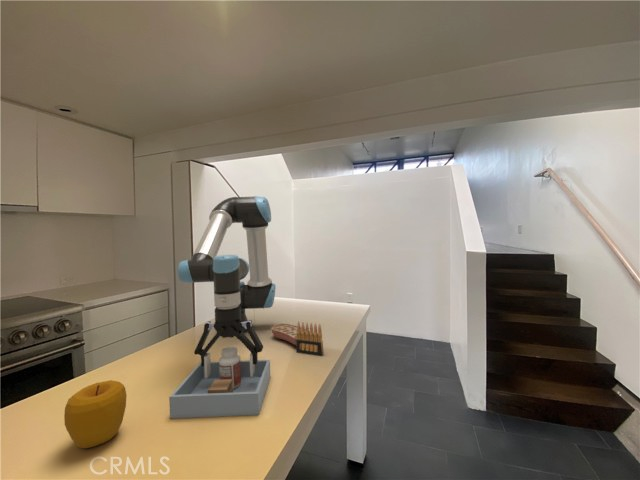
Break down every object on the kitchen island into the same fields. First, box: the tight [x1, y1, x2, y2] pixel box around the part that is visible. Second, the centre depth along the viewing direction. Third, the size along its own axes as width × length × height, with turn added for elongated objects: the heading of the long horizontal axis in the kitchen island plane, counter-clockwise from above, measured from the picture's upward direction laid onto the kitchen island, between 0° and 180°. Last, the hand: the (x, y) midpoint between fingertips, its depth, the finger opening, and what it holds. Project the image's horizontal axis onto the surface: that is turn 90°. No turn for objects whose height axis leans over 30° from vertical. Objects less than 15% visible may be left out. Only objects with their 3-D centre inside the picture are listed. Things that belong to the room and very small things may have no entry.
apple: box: [63, 379, 128, 449], centre depth 62 cm, size 11×11×13 cm
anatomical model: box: [271, 323, 310, 347], centre depth 117 cm, size 23×10×5 cm, turn 45°
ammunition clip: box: [295, 321, 324, 357], centre depth 104 cm, size 11×2×12 cm, turn 70°
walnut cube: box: [208, 379, 233, 394], centre depth 74 cm, size 5×5×5 cm
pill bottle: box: [218, 345, 241, 389], centre depth 82 cm, size 6×6×11 cm
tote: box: [168, 359, 271, 419], centre depth 78 cm, size 19×23×6 cm
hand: (230, 375), depth 82 cm, fingers open, 13 cm apart
